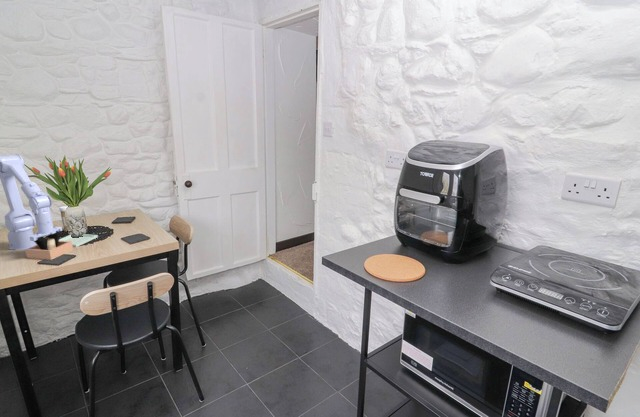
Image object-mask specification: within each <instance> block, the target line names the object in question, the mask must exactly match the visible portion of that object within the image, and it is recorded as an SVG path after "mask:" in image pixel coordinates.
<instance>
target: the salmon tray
mask: <svg viewBox="0 0 640 417" xmlns="http://www.w3.org/2000/svg"><path fill="white" fill-rule="evenodd" d="M73 250H74V247H73V245H72V241H58V247H56V248H53V249H51V250H41V249H40V247H39V246H38V245H35V246H33V247H30V248H28V249H25V250H24V251H25V256H26V259H36V260H48V261H51V260H53V259H57V258H58V257H60V256H62V255H65V254H67V253H69V252H71V251H73Z"/></svg>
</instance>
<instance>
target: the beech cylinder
mask: <svg viewBox="0 0 640 417" xmlns="http://www.w3.org/2000/svg"><path fill="white" fill-rule="evenodd" d="M47 239H48V241H47V248H48V250H51V249H53V248H56V245H55V240H54V239H53V238H51V239H49V238H47Z"/></svg>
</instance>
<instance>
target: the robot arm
mask: <svg viewBox="0 0 640 417" xmlns="http://www.w3.org/2000/svg"><path fill="white" fill-rule="evenodd" d="M16 180H17V181H16ZM0 182H1V185H2V188H3V192H4V195H5V197H6V201H7V204H8V207H9V210H10V211H8V212H7V213H6V214H5V215H4V223H5V227H6V229H7V231H8V233H7V240H8V244H9V248H8V250H12V251H13V250H14V251H16V250H19V251H20V250H21V251H25V249H28V248H30V247H33V246H35V245H38V246H39V247H40V249H41V250H48V248H47V241H48V239H51V238H53V239H54V240H55V245H56V247H58V241H59V239H61V236H62V231H63V228H62V227H63V226H55V227H54V223H53V218H52V213H51V208H50V207H52V203H53V202H52V199H51V197H50V195H49V194H46V193H45V192H43V191H42V189H41V188H40V187H39V186H38V184H37V183H36V182H34V181H31V179H30V177H29V175H28V174H27V172H26V170H25V160H24V158H23V156H21V155H20V154H17V153H16V154H10V155H9V154H8V155H0ZM17 182H19V183H20V185H21V186H20V189H21V191H22V192H23V194H24V196H25V197H26V198H27V199H28V205H29V207H30V209H31V210H29V209H26V208H25V207H24V203H23V201H22V200H23V199H22V197H21V193H20V191H19V188H18V185H17ZM35 226H36V229H37V232H36V233H35V234H34V230H33V229H34V228H35ZM45 237H48V238H45Z"/></svg>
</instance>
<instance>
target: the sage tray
mask: <svg viewBox="0 0 640 417" xmlns="http://www.w3.org/2000/svg"><path fill="white" fill-rule="evenodd" d="M82 234H83V235H82V236H83V237H79V238H72V237H71V234H69V235H66V236H64V237H60V238H59V241H72V245H73V248H77V247H79V246H81V245H84V244H86V243H88V242H90V241H93V240H97V239H99V236H98V234H85V233H82ZM96 238H97V239H96Z"/></svg>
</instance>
